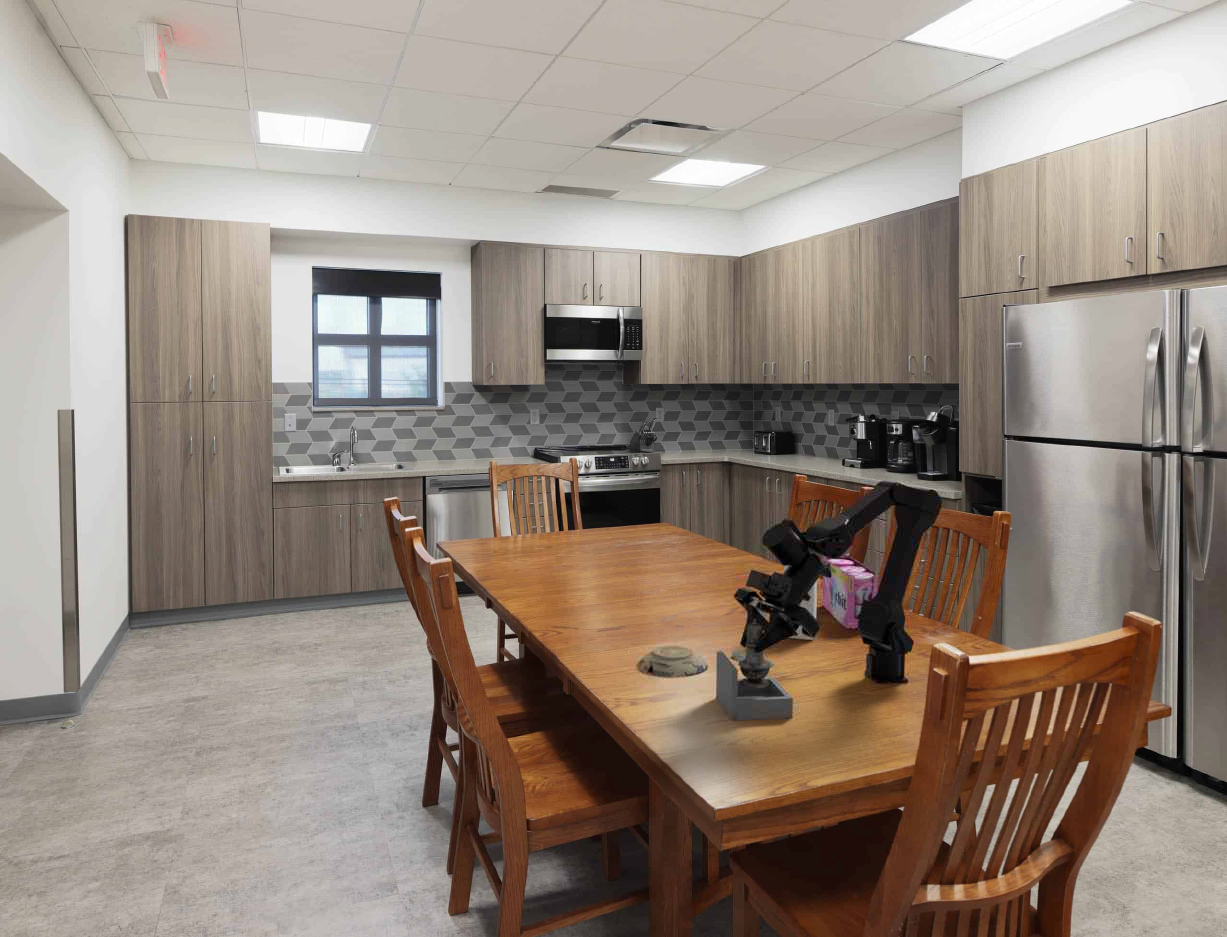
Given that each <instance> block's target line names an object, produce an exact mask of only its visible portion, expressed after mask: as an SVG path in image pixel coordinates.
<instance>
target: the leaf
mask: <svg viewBox="0 0 1227 937" xmlns="http://www.w3.org/2000/svg"><path fill="white" fill-rule="evenodd" d="M732 657H733V658H734V659H733V660H734V661H735V662H737V663H739V662H740V661H742V660H745V658H746V651H744V650H740V651H739V650H736V651H732ZM764 660H765V661H768V662H770V663H771V667H770V668H774V667H775V665H776V664H775V663H773V662H771V660H770V661H769V660H768V659H765V658H764ZM777 668H779V667H777Z"/></svg>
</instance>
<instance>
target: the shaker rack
mask: <svg viewBox="0 0 1227 937" xmlns="http://www.w3.org/2000/svg"><path fill="white" fill-rule="evenodd" d="M715 669H716V670H715V671H716V674H715V675H716V676H715V677H716V680H715V682H716V683H715V684H716V685H715V689H716V690H715V694H716V695H715V698H716V700H717V701H718V703H719V704H720V706H721V707H722V709H723V710H724V711H725V714H727V716H728V718H729V719H730V720H731V721H745V720H746V721H748V720H749V721H750V720H769V719H770V720H771V719H789V718H790V719H791V718H793V717H794V716H793V715H794V714H793V712H794V711H793V709H794V707H793V706H794V698H793V696H792V695H791V694H790V693H789V692H788V691H787V690H786V689H785V688H784V687H783V686H782V685H781V684H780V683H779V682H778V681H777V679H775V677H773V676H772V677H771V676H769V677H767V676H766V677H765V678H764V679H766V680H767V681H769V683H770V685H769V686H767V687H764V688H749V687H745V686H743V685H741V684H740V681H741V680H742V679H744V678H745V677H744V678H739V677H738V674H739V670H738V668H737V667H736V666H735V665H734V664H733V662H732V661H731V660H730V659H729V658H728V657H727V655H726V654H725V653H724V652H723V650H716V668H715Z"/></svg>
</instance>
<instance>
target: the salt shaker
mask: <svg viewBox="0 0 1227 937" xmlns="http://www.w3.org/2000/svg"><path fill="white" fill-rule="evenodd" d="M753 621H754V622H753V623H751V624H749V625H748V626H747V641H746V642H745V645H746V647H745V649H746V651H745V652H746V658H745V660H742V661H740V662H738V664H737V665H738V666H739V669H740V672H741V674H742V675H743V677H744V679H743V678H741V679H742V680H741V681H740V684H741V685H743V686H745V687H749V688H764V687H767V686H769V685H770V683H769V681H767V680H766V679H764V678H766V677H767V676H768V675H769V673H770V668H772V667H771V663H770V662H771V661H770V662H768V661H769V660H768V661H765V660H766V659H765V656H764V650H763V651H761V652H759V653H756V652H755V651H754V647H755V645H756V643H757V641H758V640H759V638H760V637H761V635H762V634H763V632H764V631H763V627H762V626H761V625H760V624H758V623H757V622H756V621H757V620H756V619H755V618H754V619H753ZM764 659H765V660H764Z"/></svg>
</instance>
